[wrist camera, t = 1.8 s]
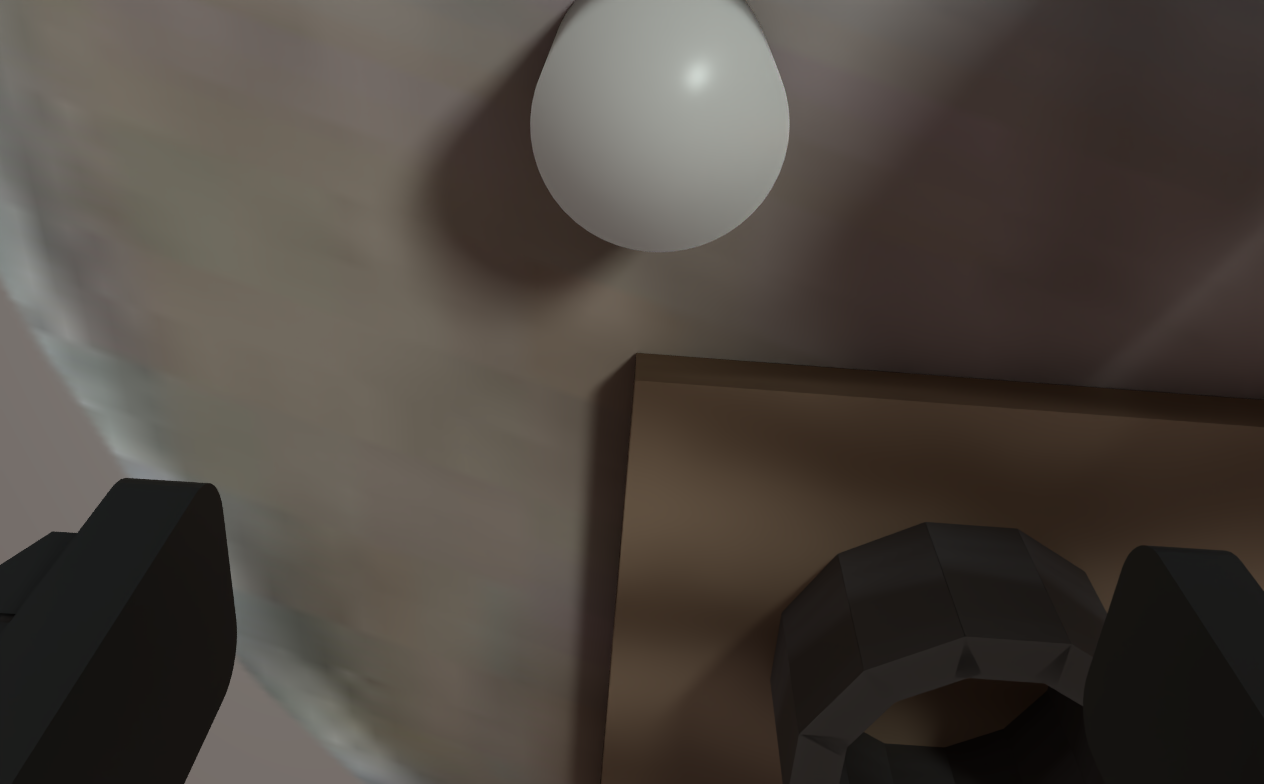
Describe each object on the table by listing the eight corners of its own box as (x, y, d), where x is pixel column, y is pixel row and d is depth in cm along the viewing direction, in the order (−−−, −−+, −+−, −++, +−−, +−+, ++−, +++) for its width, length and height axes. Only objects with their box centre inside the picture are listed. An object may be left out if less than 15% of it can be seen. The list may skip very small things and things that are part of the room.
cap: (553, -49, 25) (534, -15, 21) (783, -31, 25) (806, 7, 21) (545, 174, 27) (526, 242, 24) (755, 190, 28) (771, 261, 24)
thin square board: (636, 353, 30) (631, 480, 24) (1332, 405, 30) (1477, 542, 25) (598, 798, 37) (589, 969, 32) (1154, 836, 38) (1235, 1012, 32)
